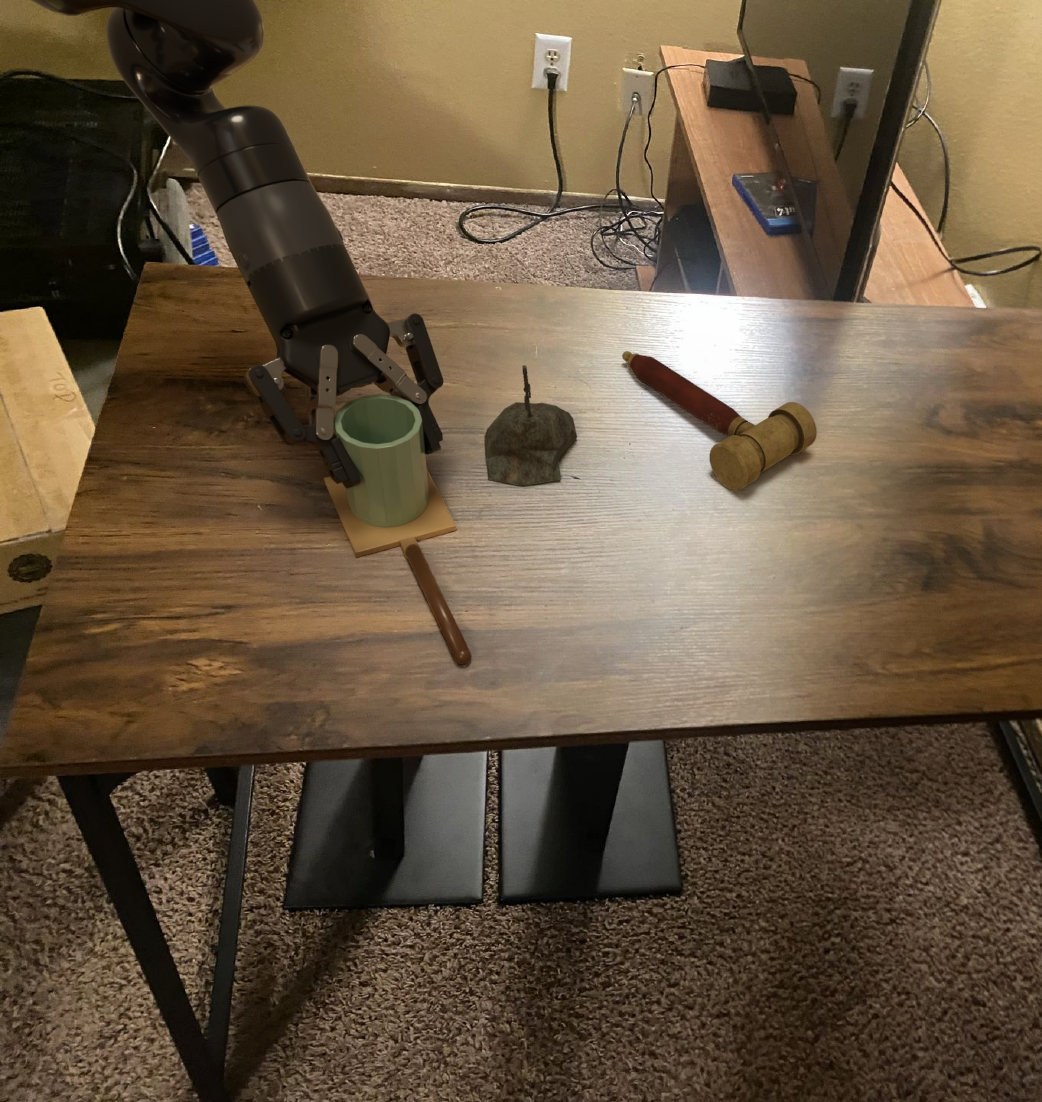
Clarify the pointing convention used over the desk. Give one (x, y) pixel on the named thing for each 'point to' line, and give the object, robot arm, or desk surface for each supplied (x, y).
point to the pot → (384, 459)
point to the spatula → (408, 552)
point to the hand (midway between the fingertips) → (394, 468)
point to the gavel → (732, 425)
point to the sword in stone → (528, 441)
